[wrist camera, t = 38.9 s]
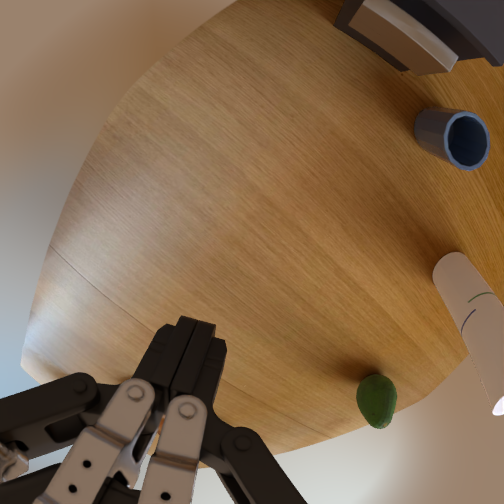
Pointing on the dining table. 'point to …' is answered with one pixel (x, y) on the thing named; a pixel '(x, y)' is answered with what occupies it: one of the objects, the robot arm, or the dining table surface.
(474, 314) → the cylindrical container
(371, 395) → the fruit
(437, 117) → the cup
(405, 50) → the plate
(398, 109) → the dining table surface
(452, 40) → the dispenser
